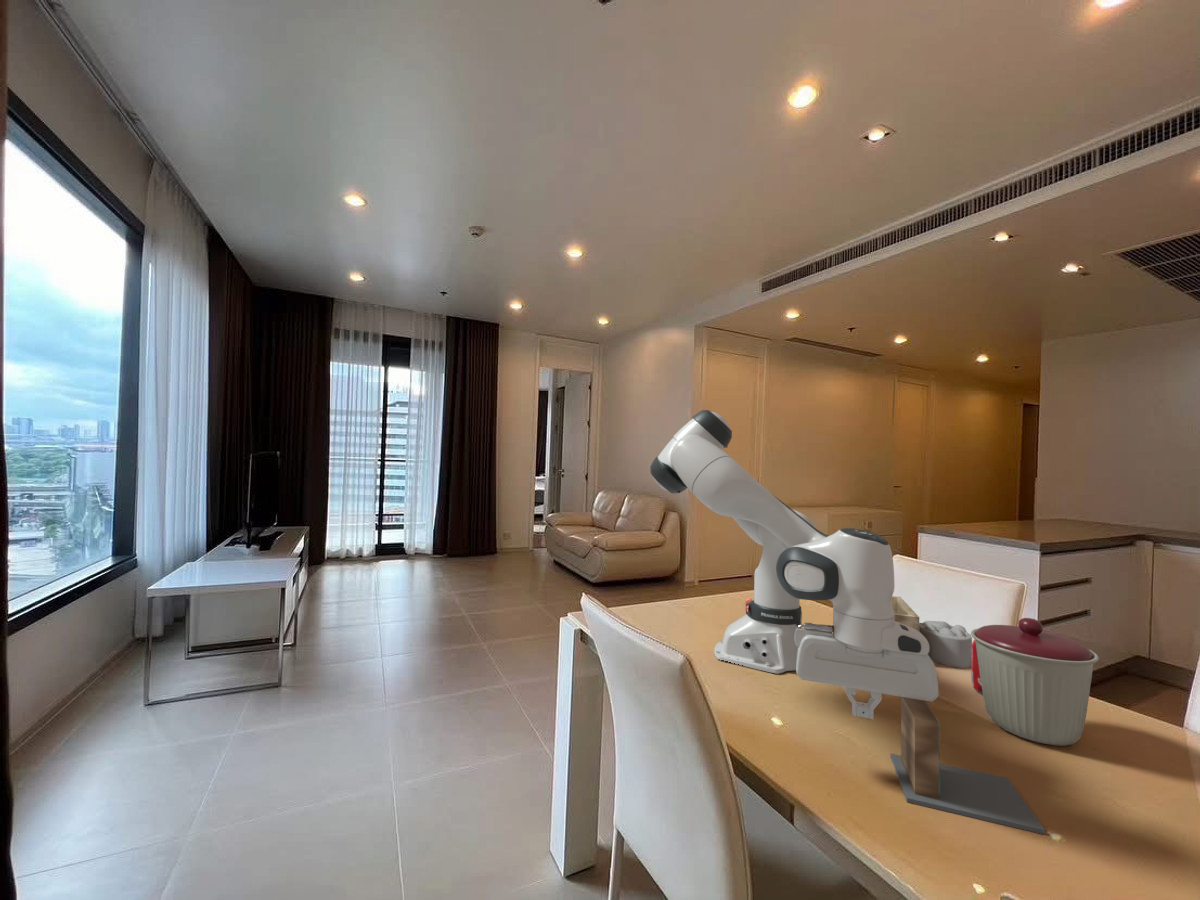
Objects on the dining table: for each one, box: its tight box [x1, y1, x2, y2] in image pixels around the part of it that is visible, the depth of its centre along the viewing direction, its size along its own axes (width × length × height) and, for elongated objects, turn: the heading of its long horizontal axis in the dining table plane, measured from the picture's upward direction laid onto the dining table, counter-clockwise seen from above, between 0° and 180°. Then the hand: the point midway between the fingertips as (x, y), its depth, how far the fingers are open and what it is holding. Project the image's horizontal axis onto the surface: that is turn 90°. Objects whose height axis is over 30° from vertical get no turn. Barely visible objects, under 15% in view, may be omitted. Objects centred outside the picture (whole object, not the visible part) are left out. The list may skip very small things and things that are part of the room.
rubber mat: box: [889, 753, 1046, 835], centre depth 73 cm, size 16×12×1 cm
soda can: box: [970, 639, 983, 696], centre depth 107 cm, size 7×7×12 cm
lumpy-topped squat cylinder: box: [919, 620, 973, 669], centre depth 127 cm, size 10×13×9 cm
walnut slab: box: [900, 697, 941, 799], centre depth 75 cm, size 3×9×11 cm, turn 159°
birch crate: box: [892, 595, 920, 631], centre depth 134 cm, size 12×22×12 cm, turn 159°
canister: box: [970, 617, 1099, 747], centre depth 92 cm, size 18×18×21 cm
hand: (862, 715), depth 78 cm, fingers closed
